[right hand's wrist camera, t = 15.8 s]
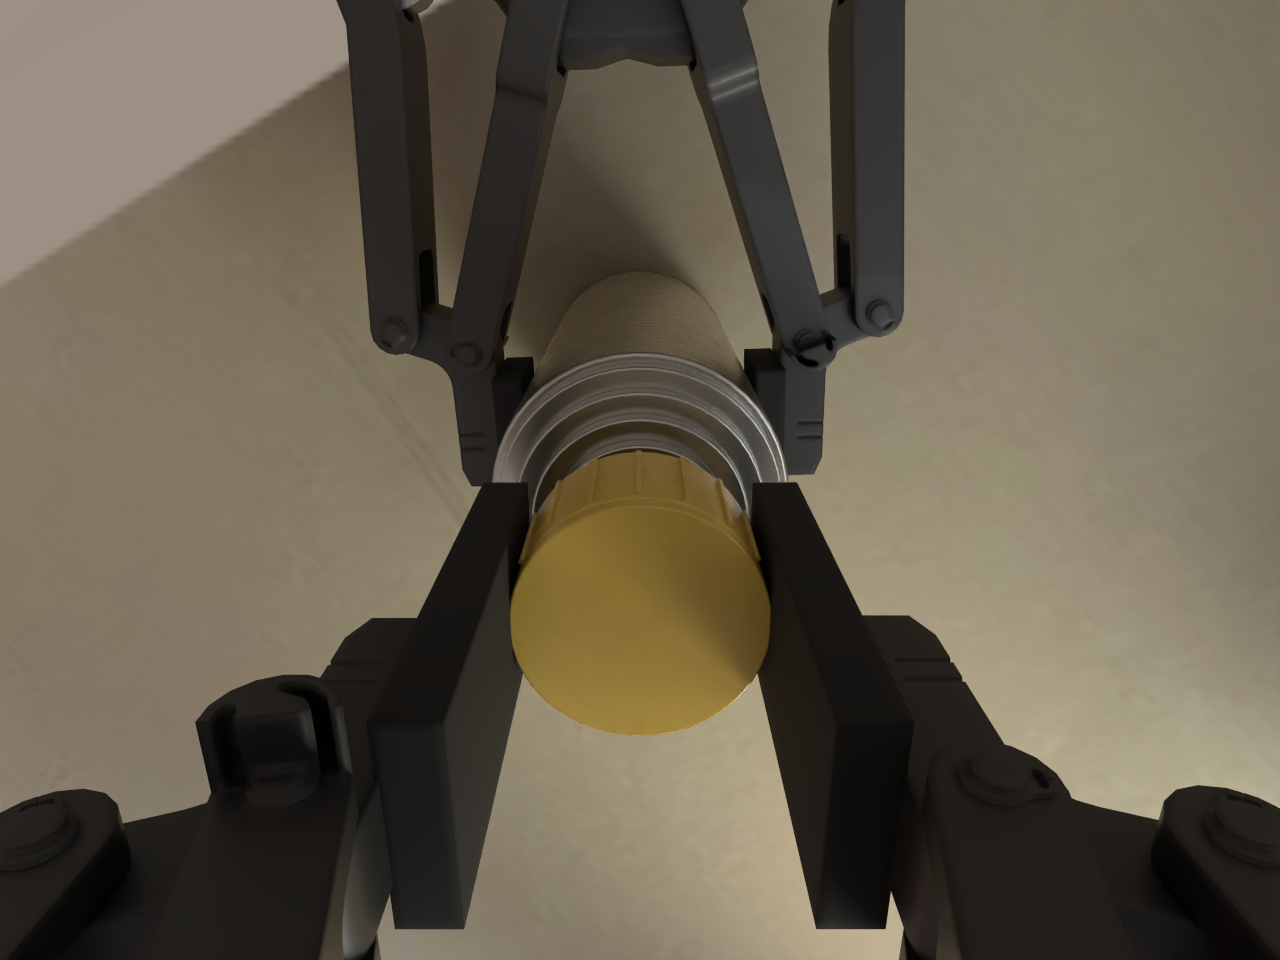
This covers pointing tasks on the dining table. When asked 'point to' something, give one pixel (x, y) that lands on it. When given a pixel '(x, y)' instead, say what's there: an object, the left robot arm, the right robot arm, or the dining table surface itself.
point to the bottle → (640, 392)
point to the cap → (640, 596)
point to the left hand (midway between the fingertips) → (646, 576)
